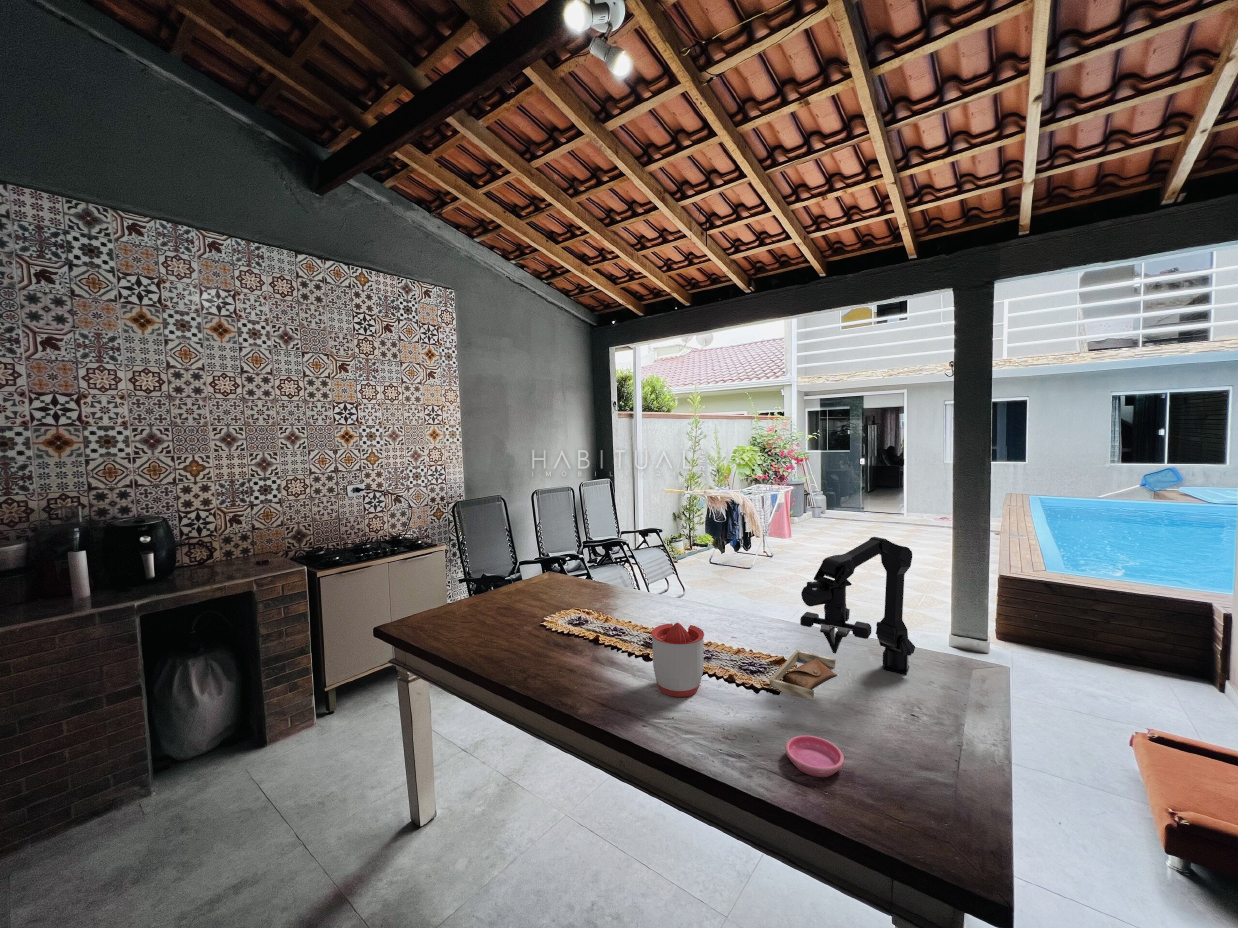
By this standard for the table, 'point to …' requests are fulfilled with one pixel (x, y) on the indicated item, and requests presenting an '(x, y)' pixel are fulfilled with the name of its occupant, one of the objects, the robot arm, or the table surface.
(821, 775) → the saucer
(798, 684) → the sunglasses case
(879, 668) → the table surface
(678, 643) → the citrus juicer
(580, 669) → the table surface
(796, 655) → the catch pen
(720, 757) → the table surface
